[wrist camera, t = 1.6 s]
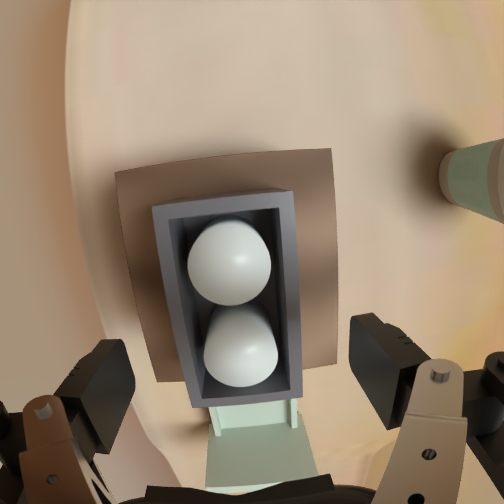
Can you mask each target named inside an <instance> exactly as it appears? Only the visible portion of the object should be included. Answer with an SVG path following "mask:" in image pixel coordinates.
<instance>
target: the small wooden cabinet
mask: <svg viewBox="0 0 504 504" xmlns="http://www.w3.org/2000/svg"><path fill="white" fill-rule="evenodd" d="M115 181H116V190H117V198H118V206H119V213H120V220H121V227H122V233H123V239H124V245H125V251H126V257H127V262H128V268H129V273H130V278H131V283H132V287H133V292H134V297H135V301H136V306H137V310H138V314H139V318H140V322H141V326H142V330H143V334H144V338H145V342H146V346H147V349H148V353H149V356H150V360H151V363H152V367H153V370H154V374H155V377H156V380H157V382H180V381H185V379H184V375H183V371H182V367H181V363H180V359H179V355H178V350H177V346H176V342H175V337H174V333H173V328H172V323H171V319H170V314H169V309H168V304H167V299H166V294H165V288H164V283H163V278H162V272H161V266H160V260H159V254H158V248H157V241H156V235H155V228H154V221H153V213H152V206H155V205H158V204H161V203H164V202H167V201H170V200H173V199H180V198H188V197H196V196H204V195H212V194H221V193H231V192H240V191H250V190H261V189H272V188H280V189H285V190H291V191H293V198H294V210H295V224H296V238H297V254H298V271H299V290H300V313H301V340H302V370H303V369H310V368H316V367H322V366H327V365H333V364H337V345H338V247H337V222H336V204H335V189H334V175H333V163H332V152H331V148H325V149H301V150H283V151H269V152H256V153H245V154H235V155H225V156H216V157H208V158H200V159H192V160H185V161H178V162H171V163H164V164H158V165H152V166H146V167H140V168H134V169H129V170H124V171H118V172H115Z"/></svg>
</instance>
